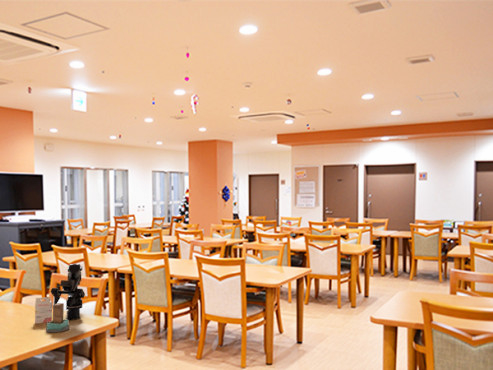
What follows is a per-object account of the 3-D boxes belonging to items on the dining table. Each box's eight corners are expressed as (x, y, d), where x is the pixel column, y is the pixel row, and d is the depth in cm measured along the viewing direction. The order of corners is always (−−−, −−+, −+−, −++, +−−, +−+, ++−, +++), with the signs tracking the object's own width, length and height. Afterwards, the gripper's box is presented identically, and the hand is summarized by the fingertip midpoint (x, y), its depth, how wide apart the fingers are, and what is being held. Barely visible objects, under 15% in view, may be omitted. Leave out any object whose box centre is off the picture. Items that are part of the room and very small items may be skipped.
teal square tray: (53, 326, 240) (53, 318, 240) (73, 326, 239) (73, 318, 239) (41, 332, 228) (41, 324, 228) (62, 333, 227) (62, 324, 227)
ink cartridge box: (52, 320, 251) (52, 295, 252) (50, 322, 247) (51, 297, 247) (36, 321, 249) (36, 296, 250) (34, 323, 244) (35, 298, 245)
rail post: (56, 326, 235) (56, 303, 236) (63, 326, 235) (63, 303, 235) (52, 328, 231) (53, 305, 232) (59, 329, 231) (60, 305, 231)
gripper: (52, 273, 245) (40, 297, 234) (83, 274, 243) (72, 298, 232) (59, 284, 253) (48, 308, 241) (89, 285, 251) (79, 309, 239)
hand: (62, 305), depth 238 cm, fingers open, 9 cm apart
